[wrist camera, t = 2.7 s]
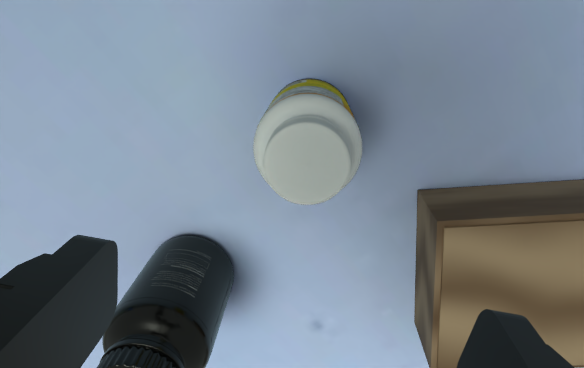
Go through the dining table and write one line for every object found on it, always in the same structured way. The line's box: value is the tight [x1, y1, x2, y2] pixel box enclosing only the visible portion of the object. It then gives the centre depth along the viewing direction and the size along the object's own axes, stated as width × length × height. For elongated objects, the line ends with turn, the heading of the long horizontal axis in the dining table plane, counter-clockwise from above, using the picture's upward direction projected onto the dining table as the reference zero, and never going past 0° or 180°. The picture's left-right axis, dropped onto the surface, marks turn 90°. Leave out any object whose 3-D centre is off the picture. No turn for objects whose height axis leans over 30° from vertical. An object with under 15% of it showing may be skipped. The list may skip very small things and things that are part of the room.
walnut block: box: [414, 179, 584, 368], centre depth 28 cm, size 12×12×5 cm
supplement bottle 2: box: [253, 79, 362, 205], centre depth 22 cm, size 6×6×10 cm
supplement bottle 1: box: [97, 236, 234, 368], centre depth 27 cm, size 7×7×12 cm
